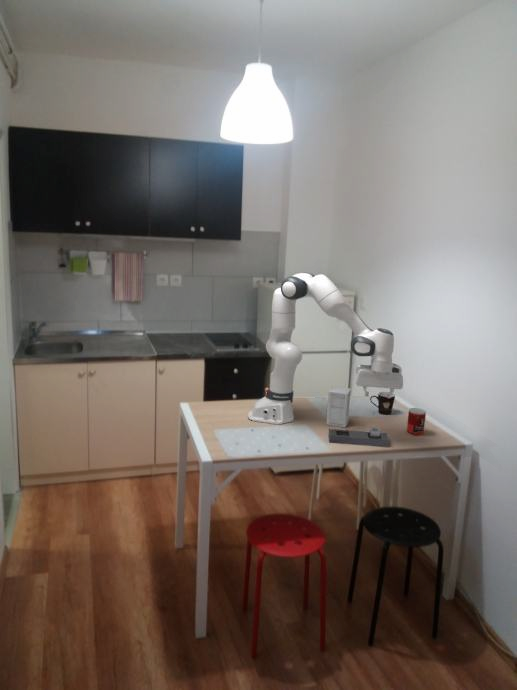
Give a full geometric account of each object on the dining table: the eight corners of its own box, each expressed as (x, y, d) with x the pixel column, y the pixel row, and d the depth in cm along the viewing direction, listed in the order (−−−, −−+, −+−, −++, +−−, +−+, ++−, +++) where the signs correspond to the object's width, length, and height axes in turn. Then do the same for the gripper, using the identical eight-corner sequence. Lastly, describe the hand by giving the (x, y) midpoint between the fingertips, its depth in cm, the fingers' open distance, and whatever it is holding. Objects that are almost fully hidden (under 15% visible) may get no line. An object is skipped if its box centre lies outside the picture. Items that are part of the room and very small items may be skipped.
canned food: (414, 436, 265) (417, 414, 262) (402, 430, 271) (405, 408, 269) (427, 434, 268) (429, 412, 266) (415, 428, 275) (417, 406, 272)
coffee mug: (395, 412, 296) (397, 394, 294) (389, 417, 289) (391, 398, 287) (374, 407, 302) (376, 389, 300) (368, 412, 295) (370, 393, 293)
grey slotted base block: (328, 442, 253) (329, 436, 252) (328, 434, 261) (328, 428, 261) (388, 447, 251) (389, 440, 250) (385, 439, 260) (386, 433, 259)
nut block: (369, 443, 254) (370, 429, 252) (368, 440, 258) (369, 426, 256) (378, 444, 254) (380, 430, 252) (377, 440, 257) (378, 427, 256)
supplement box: (348, 421, 280) (351, 388, 276) (345, 427, 271) (348, 393, 268) (329, 418, 283) (331, 385, 279) (325, 424, 274) (328, 391, 270)
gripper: (357, 366, 246) (354, 396, 249) (405, 370, 244) (401, 401, 247) (356, 362, 252) (353, 392, 255) (403, 366, 251) (399, 396, 254)
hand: (377, 396), depth 251 cm, fingers open, 8 cm apart
